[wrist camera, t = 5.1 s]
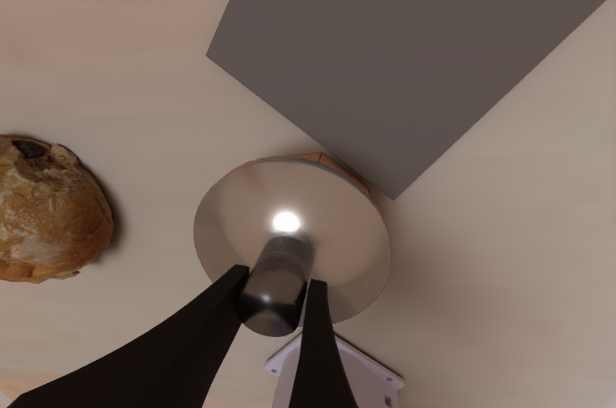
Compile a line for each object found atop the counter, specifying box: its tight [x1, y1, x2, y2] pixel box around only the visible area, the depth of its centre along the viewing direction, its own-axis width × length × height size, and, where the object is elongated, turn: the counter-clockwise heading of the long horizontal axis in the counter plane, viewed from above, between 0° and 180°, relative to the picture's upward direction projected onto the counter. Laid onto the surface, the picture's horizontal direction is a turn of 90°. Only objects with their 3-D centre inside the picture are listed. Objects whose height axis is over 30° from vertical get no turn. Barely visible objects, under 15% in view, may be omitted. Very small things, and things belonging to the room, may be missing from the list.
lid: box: [194, 156, 391, 337], centre depth 11 cm, size 9×9×4 cm
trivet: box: [206, 0, 605, 201], centre depth 11 cm, size 12×12×1 cm
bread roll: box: [0, 135, 114, 284], centre depth 18 cm, size 10×10×8 cm
